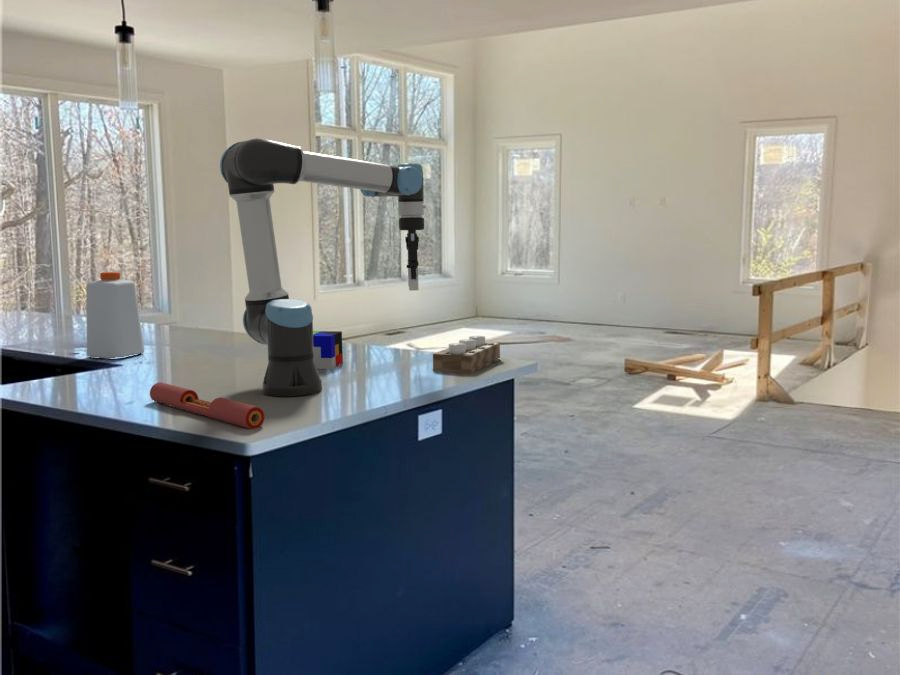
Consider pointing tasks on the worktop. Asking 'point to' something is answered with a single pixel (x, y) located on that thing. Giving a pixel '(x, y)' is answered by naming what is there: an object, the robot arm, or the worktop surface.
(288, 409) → the worktop surface
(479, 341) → the right button
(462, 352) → the left button
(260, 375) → the worktop surface
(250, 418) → the blood vessel
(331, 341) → the puzzle toy
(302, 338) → the robot arm
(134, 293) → the plastic bottle
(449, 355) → the button panel
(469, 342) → the middle button
